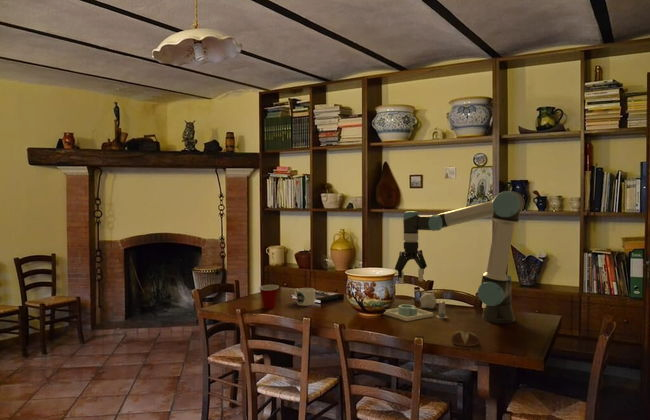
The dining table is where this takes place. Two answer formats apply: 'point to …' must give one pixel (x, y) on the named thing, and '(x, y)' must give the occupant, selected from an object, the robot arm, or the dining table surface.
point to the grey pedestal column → (441, 310)
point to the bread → (465, 338)
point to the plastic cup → (269, 295)
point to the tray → (407, 318)
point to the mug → (305, 296)
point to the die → (428, 300)
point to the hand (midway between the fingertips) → (411, 282)
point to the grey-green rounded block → (407, 310)
